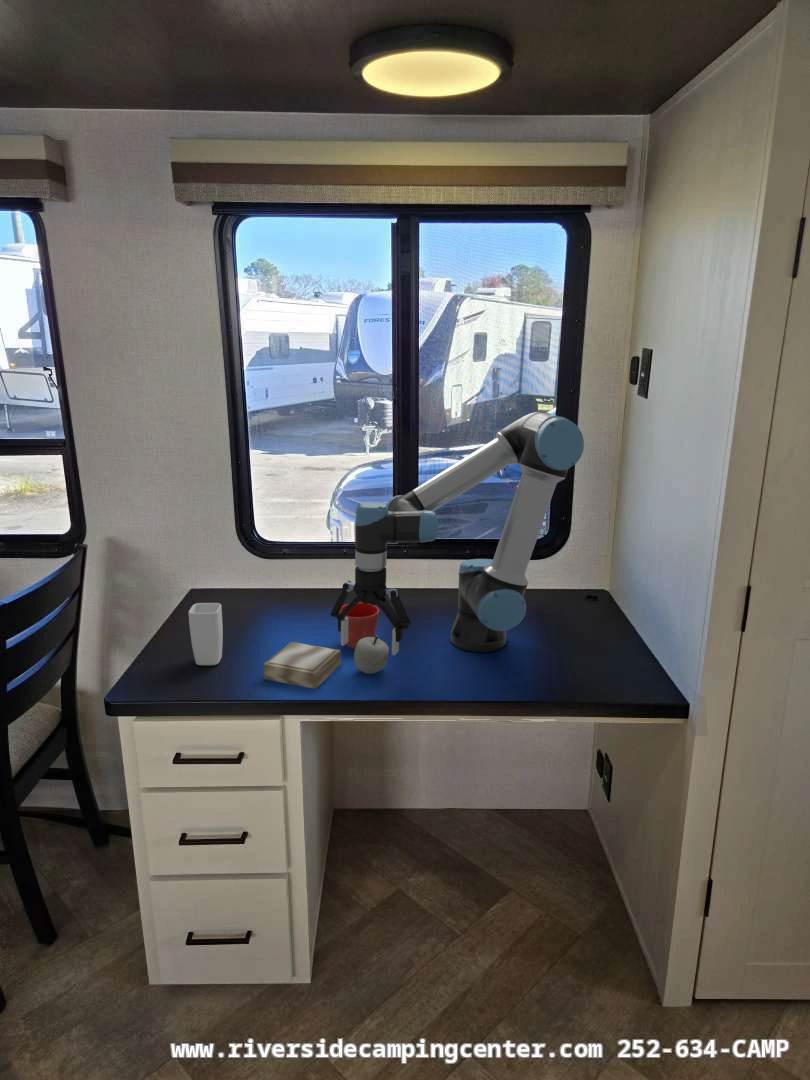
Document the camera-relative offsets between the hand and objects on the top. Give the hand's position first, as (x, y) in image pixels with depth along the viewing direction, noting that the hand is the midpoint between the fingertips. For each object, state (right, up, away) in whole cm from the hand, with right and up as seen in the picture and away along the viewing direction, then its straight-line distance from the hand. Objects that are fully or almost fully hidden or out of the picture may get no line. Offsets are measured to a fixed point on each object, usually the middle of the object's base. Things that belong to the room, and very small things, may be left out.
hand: (369, 648), depth 182 cm
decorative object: (0, -6, +2) cm, 7 cm away
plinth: (-17, -6, +2) cm, 18 cm away
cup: (-42, -5, +7) cm, 42 cm away
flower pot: (-4, -1, +19) cm, 19 cm away
